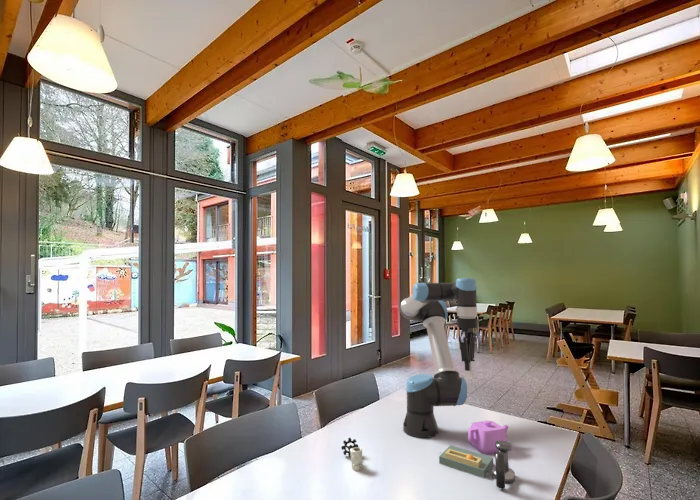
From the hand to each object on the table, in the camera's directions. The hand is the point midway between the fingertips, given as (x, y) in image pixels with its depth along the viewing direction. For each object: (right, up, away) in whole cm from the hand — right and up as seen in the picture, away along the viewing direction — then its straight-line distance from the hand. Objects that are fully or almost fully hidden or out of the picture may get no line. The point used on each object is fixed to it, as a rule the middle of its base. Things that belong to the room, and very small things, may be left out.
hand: (468, 378), depth 139 cm
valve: (-45, -28, -8) cm, 54 cm away
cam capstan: (+5, -27, -20) cm, 34 cm away
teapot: (+9, -29, +3) cm, 31 cm away
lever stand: (-4, -28, -9) cm, 30 cm away
